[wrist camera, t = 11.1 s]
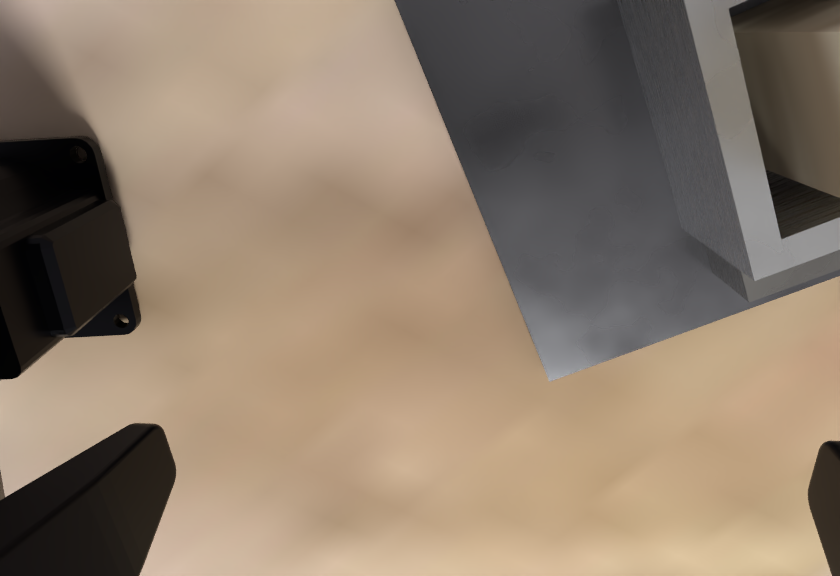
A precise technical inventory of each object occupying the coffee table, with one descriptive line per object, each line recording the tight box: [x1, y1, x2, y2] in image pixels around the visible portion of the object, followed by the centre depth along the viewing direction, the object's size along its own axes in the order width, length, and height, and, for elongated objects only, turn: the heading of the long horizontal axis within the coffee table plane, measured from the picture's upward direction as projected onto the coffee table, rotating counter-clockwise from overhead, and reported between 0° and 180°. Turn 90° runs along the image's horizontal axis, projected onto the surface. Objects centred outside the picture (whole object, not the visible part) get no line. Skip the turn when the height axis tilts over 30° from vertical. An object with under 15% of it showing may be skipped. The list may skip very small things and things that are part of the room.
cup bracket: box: [395, 0, 840, 381], centre depth 16 cm, size 18×14×6 cm
